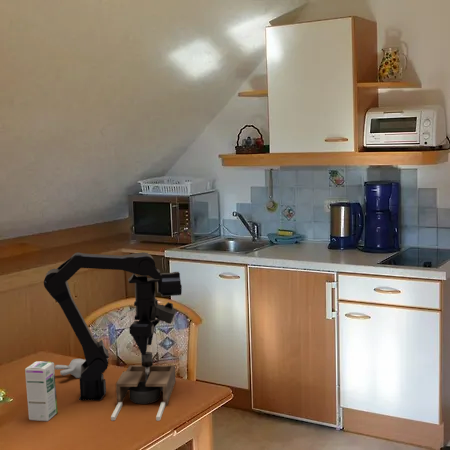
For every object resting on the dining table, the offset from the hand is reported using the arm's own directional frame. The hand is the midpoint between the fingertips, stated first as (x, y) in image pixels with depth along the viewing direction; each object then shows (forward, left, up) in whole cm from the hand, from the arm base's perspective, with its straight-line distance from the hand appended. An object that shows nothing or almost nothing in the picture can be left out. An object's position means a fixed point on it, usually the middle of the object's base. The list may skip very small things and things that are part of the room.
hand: (146, 349), depth 199 cm
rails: (0, -15, -13) cm, 20 cm away
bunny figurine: (-23, +14, -13) cm, 30 cm away
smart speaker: (0, -5, -13) cm, 14 cm away
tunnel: (0, -1, -13) cm, 13 cm away
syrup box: (-26, -18, -13) cm, 34 cm away
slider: (0, 0, -12) cm, 12 cm away
